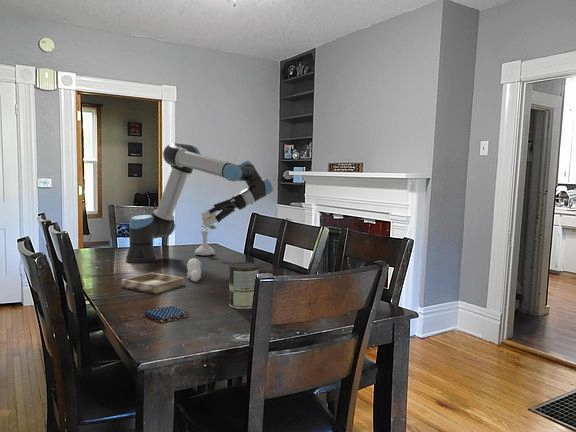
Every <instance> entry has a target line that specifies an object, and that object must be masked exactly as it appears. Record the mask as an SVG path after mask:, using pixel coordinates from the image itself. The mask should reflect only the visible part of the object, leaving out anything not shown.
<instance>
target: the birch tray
mask: <svg viewBox="0 0 576 432" xmlns="http://www.w3.org/2000/svg"><path fill="white" fill-rule="evenodd" d="M181 286H185V277H182V276H176V275H170V274H163V273H158V272H157V273H156V272H148V273H144V274H140V275H139V274H138V275H136V276H131V277H127V278H122V279H121V288H124V287H125V288H124V289H129V288H130V290H136V291H139V292H140V291H141V292H145V293H146V292H147V293H152V294H159V293H162V292H165V291H169V290H172V289H176V288H178V287H181Z"/></svg>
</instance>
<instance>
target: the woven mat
mask: <svg viewBox="0 0 576 432" xmlns="http://www.w3.org/2000/svg"><path fill="white" fill-rule="evenodd" d="M143 315H144V317H145V316H148V317H147V318H149V317H151V318H150V319H151V320H153V319H155V320H154V321H156V320H157V321H156V322H158V321H159V322H158V323H160V322H163V323H164V321H166V320H167V322H170V321H173V320H174V319H175V321H176V320H177V318H178V319H182V318H186V317H188V316H189V313H188V312H187V311H186V310H185V311H184V309H181V308H178V307H175V306H173V305H168V306H163V307H159V308H155V309H150V310H146V311H145V312H143Z"/></svg>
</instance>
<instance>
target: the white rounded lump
mask: <svg viewBox="0 0 576 432" xmlns="http://www.w3.org/2000/svg"><path fill="white" fill-rule="evenodd" d="M187 261H188V262H187V264H186V269H187V272H186V275H187V277H186V278H187V279H190V280H191V282H192V281H193V282H194V283H195V282H196V283H197V281H200V279H201V278H202V269H201V268H202V267H201V266H202V263H201V261H200V260H199V259H198V258H195V257H193V258H190V259H189V260H187Z"/></svg>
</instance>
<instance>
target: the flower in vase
mask: <svg viewBox="0 0 576 432" xmlns="http://www.w3.org/2000/svg"><path fill="white" fill-rule="evenodd" d="M214 216H217V214H216V213H215V214H213V215H211V216H210V217H208V218H206V219H204V217H203V216H202V217H201V220H202V222H205V221H206V220H208V219H210V218H212V217H214ZM201 227H203V229H206V230H200V233H201V234H202V243H201V245H200V246H199V247H197V248H196V249H195V250H194V254H195V255H198V256H202V257H203V256H205V257H206V256H211V255H214V254H215V253H216V251H215V249H214V248H212V247H211V246H210V245H209V244H208V235H209V232H210V230H215V229H217V227H216V226H215V225H214V224H211V225H209V226H208V227H206V228H205V226H204V225H201ZM208 229H210V230H208Z"/></svg>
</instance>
